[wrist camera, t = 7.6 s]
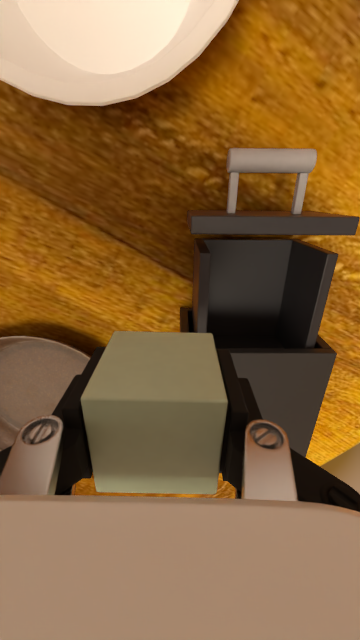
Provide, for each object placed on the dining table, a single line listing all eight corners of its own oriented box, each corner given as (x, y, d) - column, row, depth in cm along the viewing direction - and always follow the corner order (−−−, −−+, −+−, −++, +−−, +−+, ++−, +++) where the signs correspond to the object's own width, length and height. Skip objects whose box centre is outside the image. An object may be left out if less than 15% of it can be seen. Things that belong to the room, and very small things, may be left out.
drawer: (188, 156, 23) (192, 139, 16) (319, 158, 23) (381, 141, 16) (185, 336, 31) (187, 379, 23) (283, 337, 31) (315, 379, 24)
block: (113, 330, 12) (78, 398, 8) (212, 332, 12) (228, 401, 8) (120, 406, 14) (95, 493, 10) (206, 408, 14) (216, 495, 10)
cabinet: (180, 307, 30) (180, 352, 21) (291, 307, 30) (337, 353, 21) (179, 406, 36) (179, 473, 27) (271, 406, 36) (301, 473, 28)
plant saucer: (59, 466, 41) (49, 488, 38) (-63, 381, 34) (-87, 399, 31) (163, 404, 36) (161, 423, 33) (44, 288, 29) (28, 299, 26)
